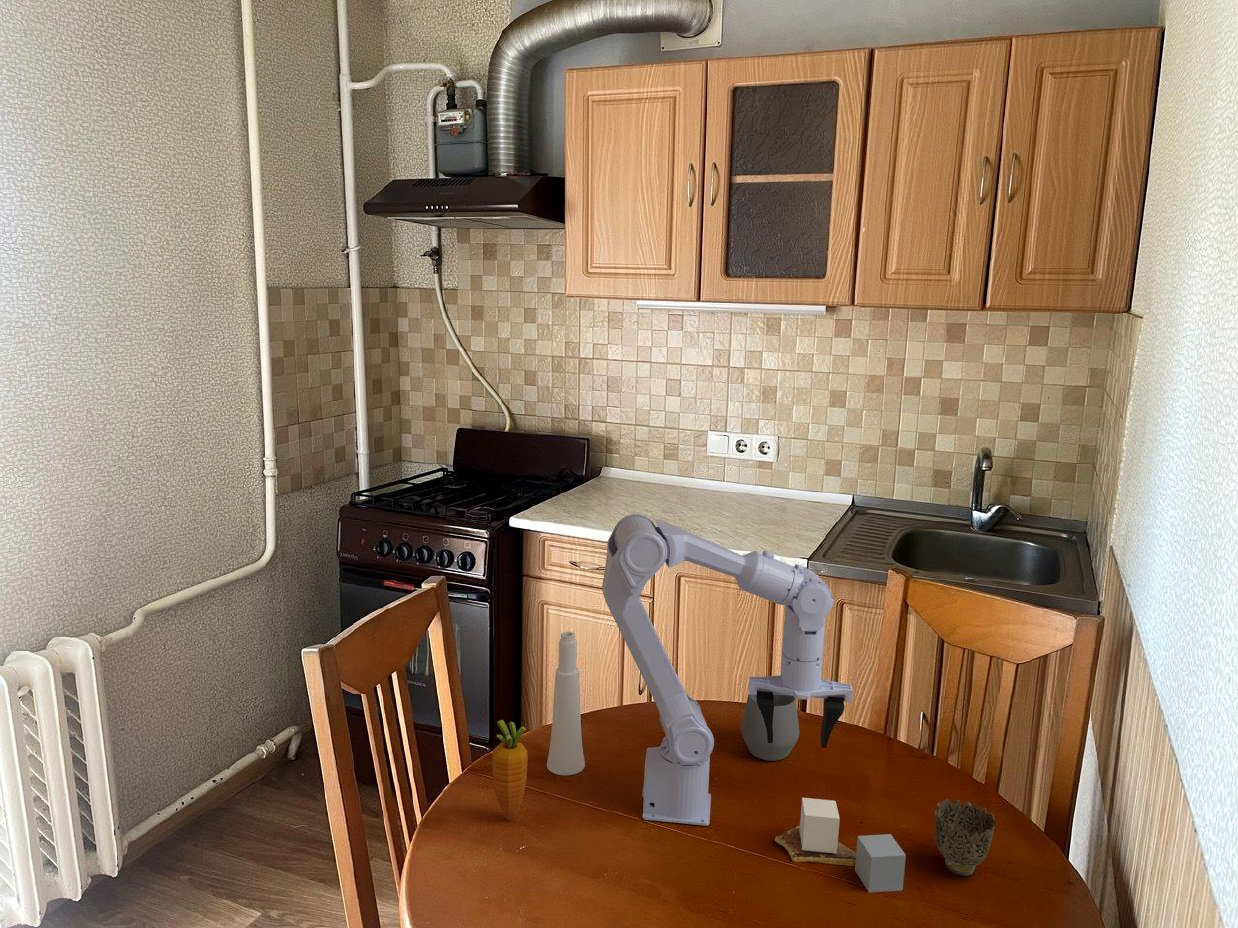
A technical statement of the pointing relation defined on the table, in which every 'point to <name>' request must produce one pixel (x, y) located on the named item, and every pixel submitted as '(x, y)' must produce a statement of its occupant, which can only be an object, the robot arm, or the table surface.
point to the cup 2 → (963, 835)
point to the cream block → (819, 825)
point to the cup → (782, 728)
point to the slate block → (880, 863)
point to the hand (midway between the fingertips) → (796, 742)
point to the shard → (794, 849)
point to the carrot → (509, 769)
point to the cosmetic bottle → (566, 713)
